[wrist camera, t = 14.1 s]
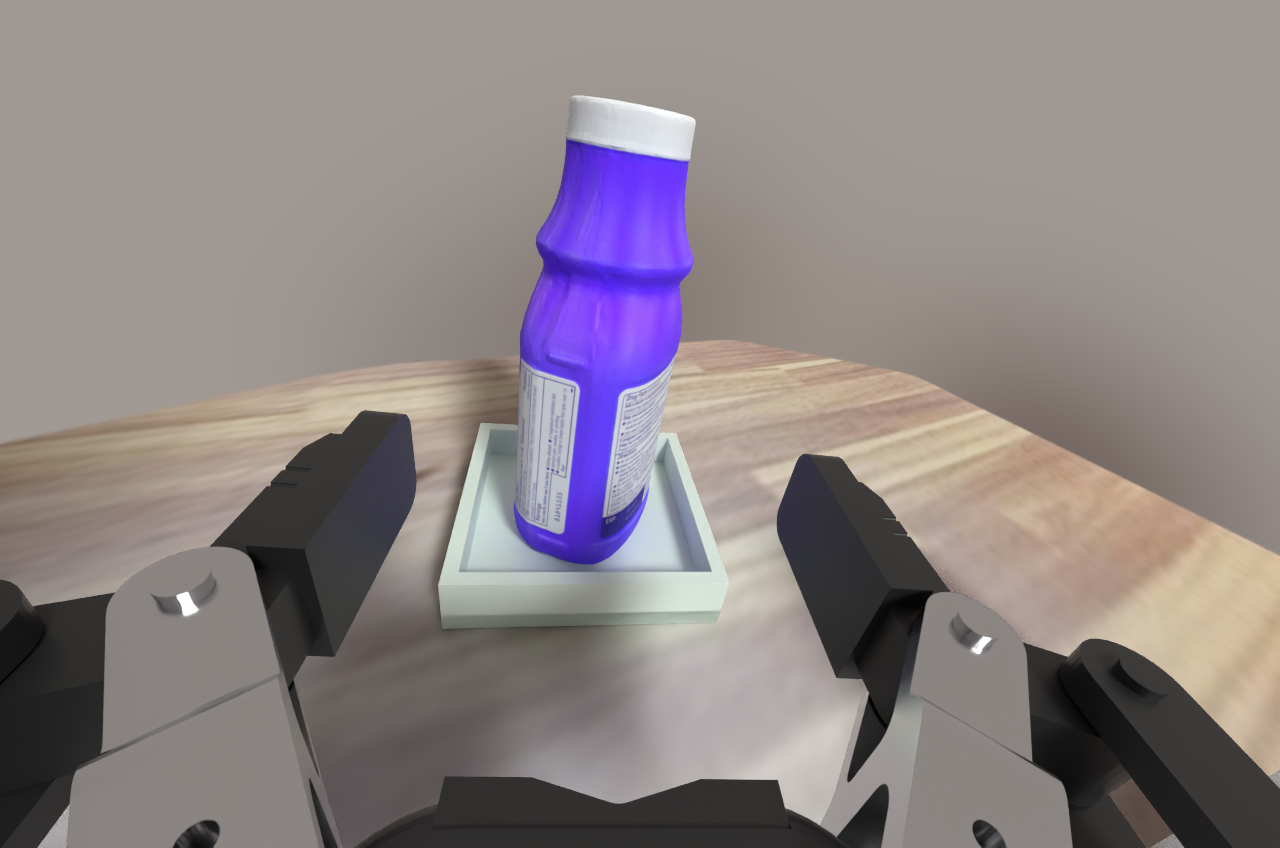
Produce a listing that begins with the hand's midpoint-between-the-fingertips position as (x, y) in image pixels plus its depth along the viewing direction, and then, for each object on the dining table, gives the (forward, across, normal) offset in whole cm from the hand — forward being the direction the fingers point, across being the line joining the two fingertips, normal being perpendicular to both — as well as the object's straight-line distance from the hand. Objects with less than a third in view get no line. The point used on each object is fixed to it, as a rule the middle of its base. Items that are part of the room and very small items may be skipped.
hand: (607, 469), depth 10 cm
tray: (+10, 0, +11) cm, 15 cm away
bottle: (+10, 0, +11) cm, 15 cm away
